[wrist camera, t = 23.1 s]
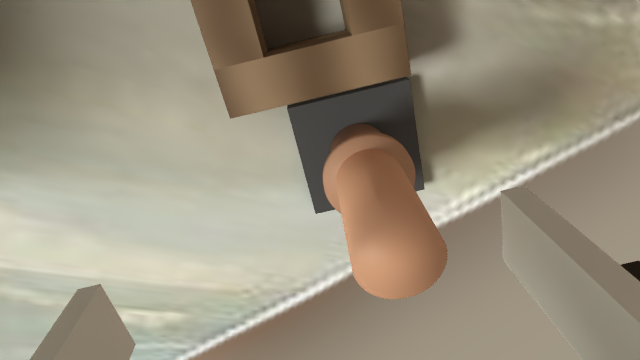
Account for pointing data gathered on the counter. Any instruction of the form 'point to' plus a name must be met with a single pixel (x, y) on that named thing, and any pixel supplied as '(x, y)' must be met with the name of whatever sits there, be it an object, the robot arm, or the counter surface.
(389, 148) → the peg
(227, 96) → the socket block
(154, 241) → the counter surface
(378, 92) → the mat
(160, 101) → the counter surface
